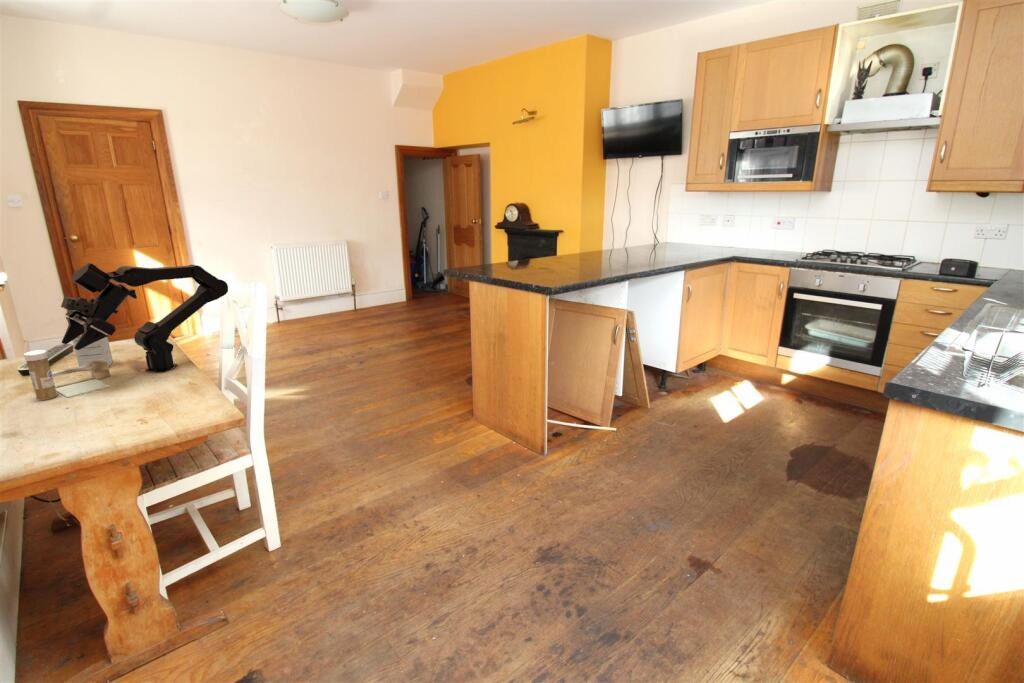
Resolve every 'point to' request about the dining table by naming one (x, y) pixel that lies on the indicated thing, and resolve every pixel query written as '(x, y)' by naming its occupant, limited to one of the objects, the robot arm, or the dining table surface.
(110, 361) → the supplement box
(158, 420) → the dining table surface
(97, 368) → the handrail
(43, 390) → the sprinkles bottle
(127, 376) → the dining table surface
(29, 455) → the dining table surface
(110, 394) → the dining table surface
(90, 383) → the pad
